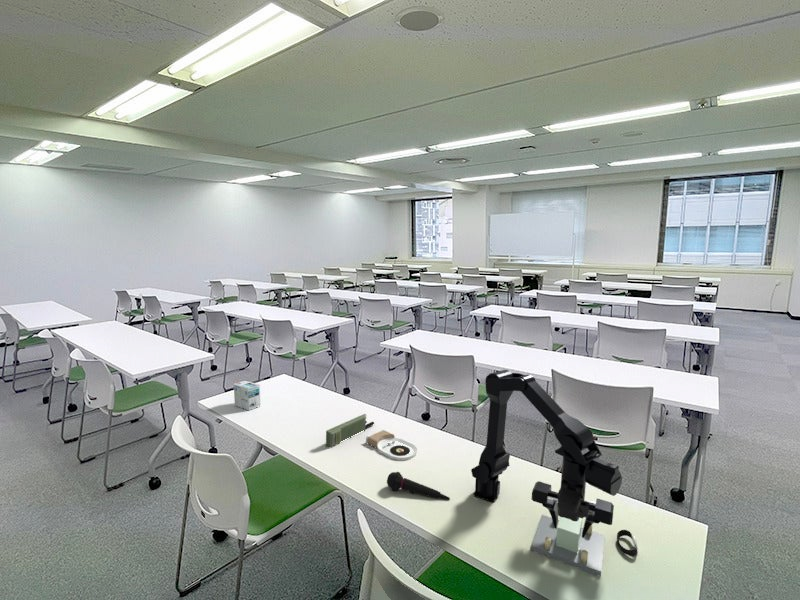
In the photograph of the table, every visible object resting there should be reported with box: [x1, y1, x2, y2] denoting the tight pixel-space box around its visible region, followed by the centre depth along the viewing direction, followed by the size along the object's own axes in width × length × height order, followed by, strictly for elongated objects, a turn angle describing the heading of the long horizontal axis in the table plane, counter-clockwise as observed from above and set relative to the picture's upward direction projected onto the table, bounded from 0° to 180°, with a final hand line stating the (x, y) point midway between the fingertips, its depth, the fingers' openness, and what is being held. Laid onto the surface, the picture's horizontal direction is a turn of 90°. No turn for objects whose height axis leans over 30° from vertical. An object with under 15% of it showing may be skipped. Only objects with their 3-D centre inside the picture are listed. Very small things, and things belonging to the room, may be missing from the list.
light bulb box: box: [233, 380, 261, 411], centre depth 190 cm, size 11×7×11 cm, turn 58°
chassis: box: [530, 514, 606, 577], centre depth 105 cm, size 16×14×4 cm
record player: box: [365, 429, 418, 461], centre depth 154 cm, size 12×3×20 cm
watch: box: [616, 529, 639, 557], centre depth 105 cm, size 8×5×4 cm, turn 165°
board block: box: [556, 516, 583, 553], centre depth 105 cm, size 5×7×5 cm
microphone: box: [386, 471, 451, 501], centre depth 126 cm, size 6×6×20 cm
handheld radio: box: [325, 413, 375, 448], centre depth 163 cm, size 7×3×25 cm
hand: (569, 532), depth 105 cm, fingers open, 6 cm apart
